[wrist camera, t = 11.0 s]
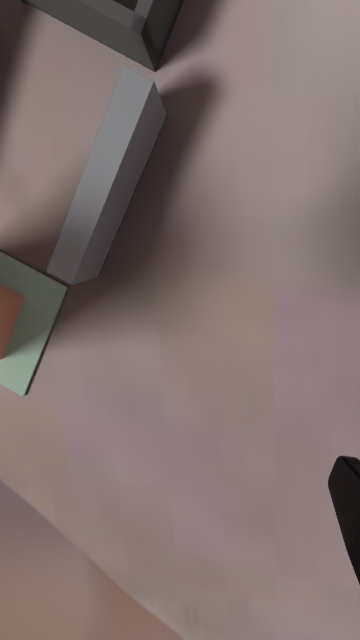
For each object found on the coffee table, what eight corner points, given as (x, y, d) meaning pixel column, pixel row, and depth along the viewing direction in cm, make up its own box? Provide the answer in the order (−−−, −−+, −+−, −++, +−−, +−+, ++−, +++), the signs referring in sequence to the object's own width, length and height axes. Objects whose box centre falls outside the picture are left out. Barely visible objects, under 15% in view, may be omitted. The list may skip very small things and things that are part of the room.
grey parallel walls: (167, 114, 16) (153, 81, 13) (97, 277, 19) (71, 285, 16) (-29, 9, 16) (-94, -52, 13) (-71, 188, 19) (-133, 176, 16)
